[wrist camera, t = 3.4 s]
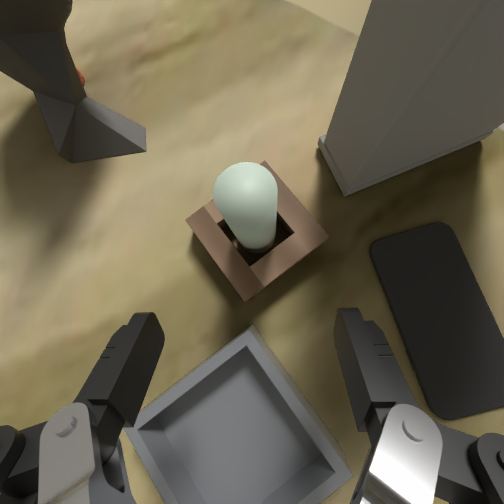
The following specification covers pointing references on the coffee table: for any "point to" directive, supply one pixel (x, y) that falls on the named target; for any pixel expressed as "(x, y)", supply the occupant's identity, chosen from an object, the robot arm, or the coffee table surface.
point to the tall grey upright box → (416, 88)
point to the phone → (442, 320)
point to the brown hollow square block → (273, 263)
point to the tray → (238, 434)
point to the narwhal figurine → (60, 83)
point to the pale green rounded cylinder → (248, 204)
